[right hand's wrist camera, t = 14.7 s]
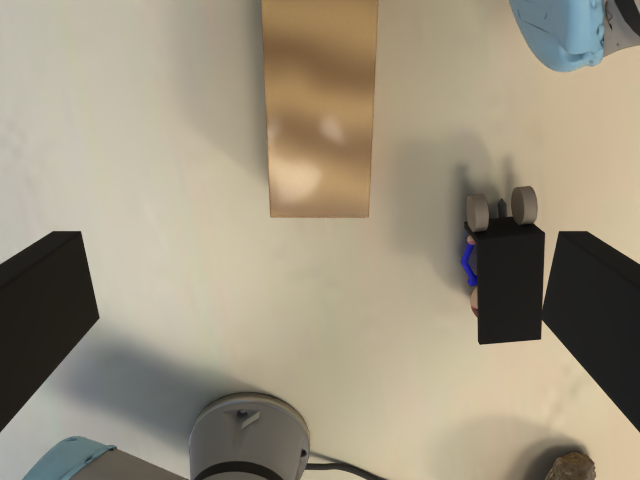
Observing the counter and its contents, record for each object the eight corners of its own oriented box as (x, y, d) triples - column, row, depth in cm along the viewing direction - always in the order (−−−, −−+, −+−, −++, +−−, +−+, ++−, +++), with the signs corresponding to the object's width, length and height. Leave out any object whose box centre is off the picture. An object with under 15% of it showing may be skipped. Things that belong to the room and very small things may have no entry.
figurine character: (449, 187, 47) (458, 317, 50) (471, 200, 39) (480, 350, 43) (513, 178, 46) (517, 309, 50) (548, 189, 39) (550, 342, 43)
